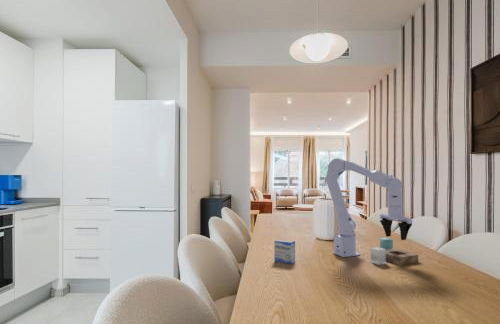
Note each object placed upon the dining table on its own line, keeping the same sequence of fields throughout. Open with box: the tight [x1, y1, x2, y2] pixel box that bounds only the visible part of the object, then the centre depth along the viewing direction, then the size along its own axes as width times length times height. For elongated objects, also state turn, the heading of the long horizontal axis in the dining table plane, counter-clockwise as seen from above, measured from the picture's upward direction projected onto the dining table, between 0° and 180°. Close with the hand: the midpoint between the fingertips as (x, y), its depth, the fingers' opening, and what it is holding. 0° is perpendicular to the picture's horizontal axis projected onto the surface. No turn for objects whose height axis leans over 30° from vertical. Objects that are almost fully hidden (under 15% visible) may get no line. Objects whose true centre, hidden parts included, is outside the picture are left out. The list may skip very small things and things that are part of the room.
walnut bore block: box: [386, 248, 419, 266], centre depth 126 cm, size 11×11×3 cm
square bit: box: [370, 246, 387, 266], centre depth 122 cm, size 4×4×6 cm
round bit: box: [379, 237, 394, 250], centre depth 140 cm, size 6×6×6 cm
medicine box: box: [273, 239, 296, 265], centre depth 125 cm, size 8×4×9 cm, turn 62°
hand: (395, 238), depth 126 cm, fingers open, 7 cm apart
